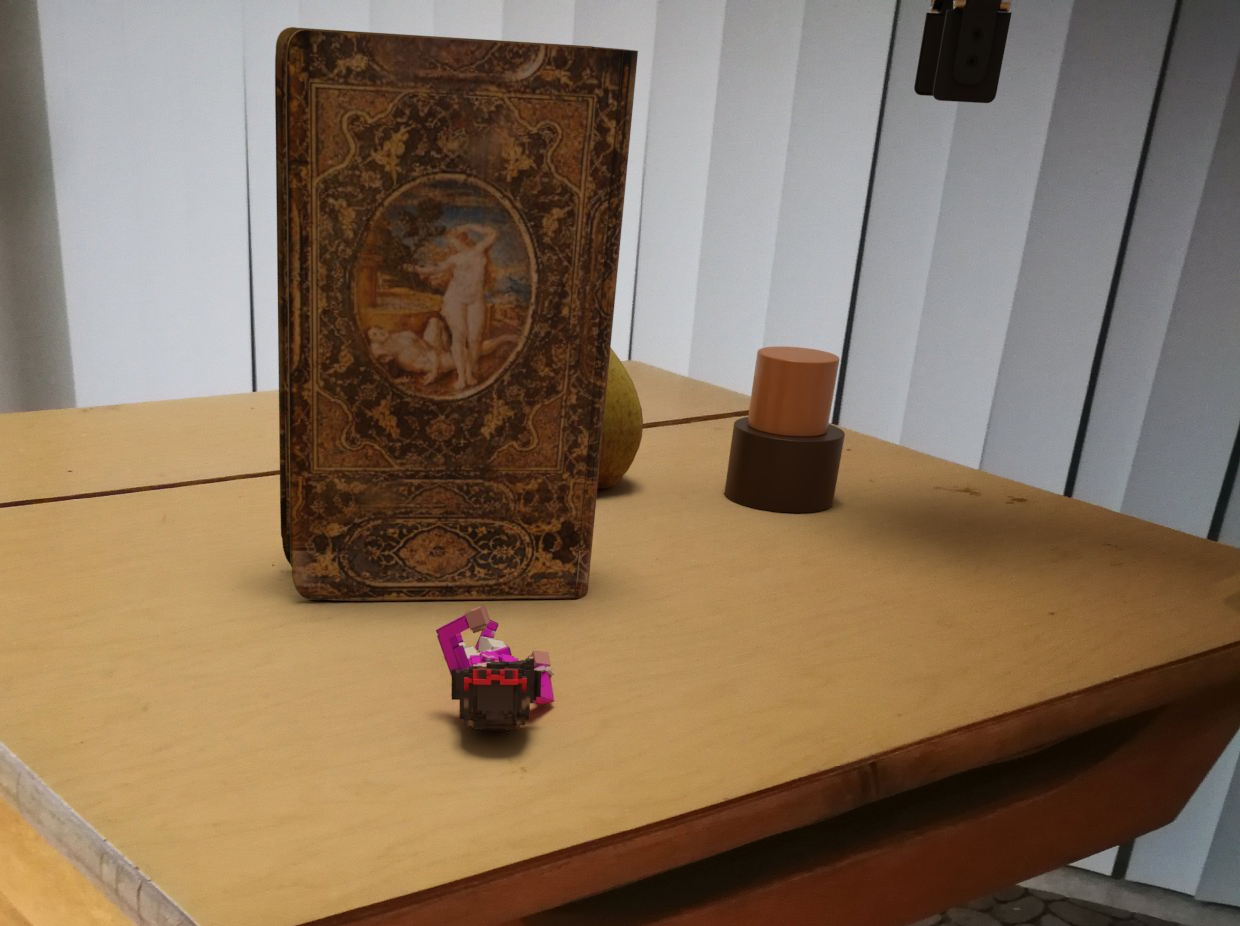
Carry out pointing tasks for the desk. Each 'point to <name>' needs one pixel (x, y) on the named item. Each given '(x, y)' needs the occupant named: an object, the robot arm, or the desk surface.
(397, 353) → the book
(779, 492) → the cylinder
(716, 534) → the desk surface
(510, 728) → the character figurine
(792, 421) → the top cylinder
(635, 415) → the fruit
